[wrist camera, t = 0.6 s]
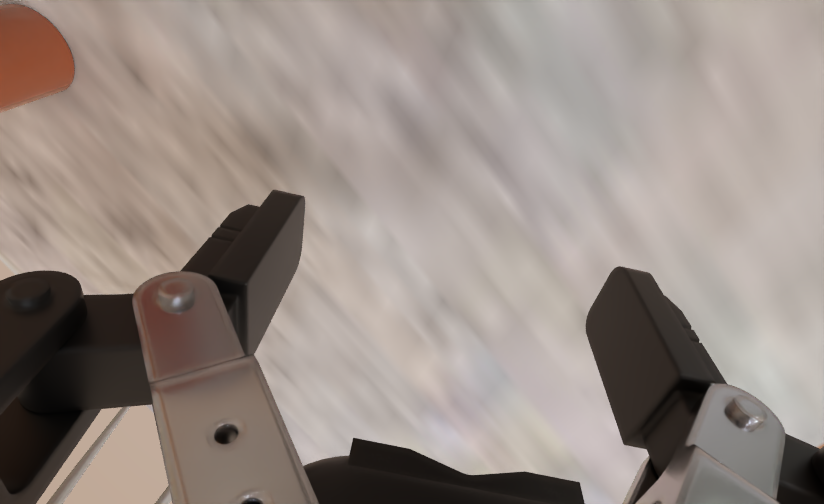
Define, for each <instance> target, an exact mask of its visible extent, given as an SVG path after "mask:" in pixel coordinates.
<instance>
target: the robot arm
mask: <svg viewBox="0 0 824 504" xmlns="http://www.w3.org/2000/svg"><path fill="white" fill-rule="evenodd" d="M304 213H305V198H304V196H301V195H296V194H291V193H287V192H282V191H278V190H273V191H272V192H271V193H270V194H269V196H268V197H267V198H266V200H265V201H264V202H263V203H262V205H261V206H260V207H258V206H253V205H249V204H248V205H246V206H244V207H242V208H240V209H238V210H236V211H234V212H231V213H230V214H229V215H228V217H227V218H226V219H225V220H224V221H223V222H222V224H221V225H220V227H218V228H217V229H216V231H215V232H214V233H213V234H212V237H209V239H208V240H207V241H206V242H205V243H204V244H203V246H202V247H201V248H200V249H199V250H198V251H197V253H196V254H195V255H194V256H193V257H192V258H191V259H190V261H189V262H188V263H187V264H186V265H185V266H184V268H183V269H182V270H181V271H180V272H169V273H165V274H161V275H158V276H155V277H153V278H151V279H149V280H147V281H146V282H144V283H143V284H142V285H140V286H139V287H138V289H137V290H136V291H135V293H134V294H117V295H83V292H82V288H81V285H80V283H79V281H78V280H77V279H76V278H74V277H73V276H71V275H69V274H66V273H62V272H58V271H33V272H27V273H22V274H18V275H15V276H11V277H9V278H6V279H4V280H1V281H0V504H36V503H37V501H38V500H39V498H40V497H41V496H42V494H43V493H44V491H45V490H46V488H47V487H48V485H49V484H50V482H51V481H52V480H53V478H54V477H55V475H56V474H57V472H58V471H59V469H60V468H61V467H62V465H63V463H64V462H65V461H66V459H67V458H68V457H69V455H70V454H71V452H72V451H73V449H74V448H75V447H76V445H77V444H78V442H79V441H80V439H81V438H82V436H83V435H84V434H85V432H86V431H87V429H88V428H89V426H90V425H91V423H92V422H93V421H94V419H95V418H96V416H97V415H98V413H99V412H100V410H101V409H105V408H116V407H128V406H139V405H151V404H152V406H153V411H154V416H155V420H156V425H157V430H158V435H159V440H160V445H161V450H162V455H163V459H164V464H165V469H166V474H167V479H168V484H169V489H170V494H171V499H172V503H173V504H584V500H583V495H582V491H581V487H580V482H575V481H570V480H564V479H559V478H554V477H549V476H544V475H539V474H534V473H529V472H514V473H500V474H485V475H466V474H464V473H461V472H459V471H457V470H454V469H452V468H450V467H448V466H446V465H444V464H441V463H439V462H437V461H435V460H433V459H430V458H428V457H426V456H424V455H422V454H420V453H417V452H415V451H413V450H411V449H407V448H402V447H397V446H392V445H387V444H382V443H377V442H372V441H366V440H361V439H356V438H353V442H352V446H351V451H350V455H349V456H339V457H332V458H327V459H322V460H319V461H316V462H313V463H310V464H307V465H305V466H303V465H302V463H301V461H300V458H299V456H298V454H297V451H296V449H295V447H294V444H293V442H292V440H291V437H290V435H289V433H288V430H287V428H286V426H285V423H284V421H283V419H282V416H281V414H280V412H279V409H278V407H277V405H276V402H275V400H274V398H273V395H272V393H271V391H270V388H269V386H268V384H267V381H266V379H265V377H264V374H263V372H262V370H261V367H260V365H259V363H258V361H257V359H256V358H255V356H254V353H255V351H256V350H257V348H258V346H259V344H260V342H261V340H262V338H263V336H264V334H265V332H266V330H267V328H268V326H269V324H270V322H271V320H272V318H273V316H274V314H275V312H276V310H277V308H278V306H279V304H280V302H281V300H282V298H283V296H284V294H285V292H286V290H287V288H288V286H289V284H290V282H291V280H292V278H293V276H294V274H295V272H296V270H297V267H298V264H299V260H300V256H301V250H302V239H303V226H304ZM586 334H587V337H588V340H589V343H590V346H591V349H592V352H593V355H594V358H595V361H596V364H597V367H598V370H599V373H600V376H601V378H602V381H603V384H604V387H605V390H606V393H607V396H608V399H609V402H610V405H611V408H612V411H613V414H614V417H615V420H616V423H617V426H618V429H619V432H620V435H621V438H622V441H623V444H624V445H628V446H633V447H638V448H643V449H647V451H648V454H649V456H648V457H647V459H646V460H645V461H644V462H643V463H642V465H641V466H640V468H639V471H638V473H637V475H636V477H635V479H634V481H633V483H632V485H631V487H630V489H629V491H628V493H627V495H626V497H625V499H624V501H623V503H622V504H824V447H822V448H821V449H819V448H817V447H814V446H812V445H810V444H808V443H805V442H803V441H801V440H799V439H796V438H794V437H792V436H790V435H788V434H785V430H784V428H783V426H782V424H781V422H780V421H779V419H778V418H777V417H776V415H775V414H774V413H773V412H772V411H771V410H770V409H769V408H768V407H767V406H766V405H765V404H764V403H762V402H761V401H760V400H759V399H757V398H756V397H754V396H753V395H751V394H749V393H748V392H746V391H744V390H742V389H740V388H737V387H735V386H732V385H728V384H727V383H726V381H725V380H724V378H723V377H722V375H721V373H720V372H719V370H718V369H717V367H716V365H715V364H714V362H713V361H712V359H711V357H710V356H709V354H708V353H707V351H706V349H705V348H704V346H703V345H702V343H699V338H698V337H697V335H696V333H695V332H694V330H691V325H690V324H689V322H688V320H687V319H686V317H685V316H684V314H683V312H682V311H681V310H680V309H679V308H678V307H677V306H676V305H675V304H673V303H672V302H671V301H670V300H669V299H668V298H667V297H666V296H664V295H663V293H662V291H661V290H660V288H659V286H658V285H657V283H656V281H655V280H654V278H653V276H652V275H651V274H650V273H648V272H643V271H639V270H634V269H630V268H625V267H620V266H619V267H616V268H615V269H614V270H613V271H612V272H611V274H610V275H609V277H608V279H607V281H606V282H605V284H604V286H603V288H602V289H601V291H600V293H599V295H598V296H597V298H596V300H595V302H594V303H593V305H592V307H591V309H590V311H589V313H588V316H587V320H586Z"/></svg>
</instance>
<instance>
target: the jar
mask: <svg viewBox="0 0 824 504" xmlns="http://www.w3.org/2000/svg"><path fill="white" fill-rule="evenodd" d="M73 78H74V61H73V57H72V54H71V51H70V49H69V47H68V45H67V43H66V41H65V40H64V38H63V37H62V35H61V34H60V32H59V31H58V30H57V29H56V28H55V27H54V25H53V24H52V23H51V22H49V21H48V20H47V19H46V18H45V17H43V16H42V15H41V14H39V13H38V12H36V11H34V10H32V9H31V8H28V7H26V6H22V5H19V4H4V5H0V113H2V112H4V111H7V110H10V109H13V108H16V107H19V106H22V105H25V104H27V103H30V102H33V101H36V100H39V99H42V98H45V97H48V96H50V95H53V94H56V93H59V92H62V91H64V90H65V89H67V88H68V87H69V86H70V84H71V83H72V80H73Z"/></svg>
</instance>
